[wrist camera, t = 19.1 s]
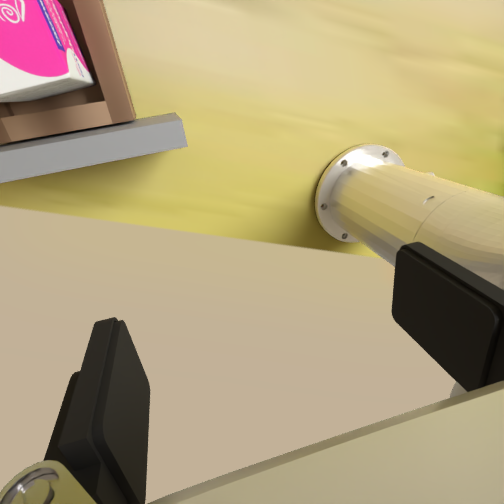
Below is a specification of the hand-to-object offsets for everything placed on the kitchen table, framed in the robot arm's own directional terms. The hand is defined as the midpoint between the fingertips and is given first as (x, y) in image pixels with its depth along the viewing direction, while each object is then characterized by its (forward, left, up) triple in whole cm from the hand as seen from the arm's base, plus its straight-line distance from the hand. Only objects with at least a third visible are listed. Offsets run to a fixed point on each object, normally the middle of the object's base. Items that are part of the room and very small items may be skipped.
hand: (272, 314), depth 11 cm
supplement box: (+10, -11, -27) cm, 30 cm away
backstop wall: (+8, -4, -28) cm, 29 cm away
